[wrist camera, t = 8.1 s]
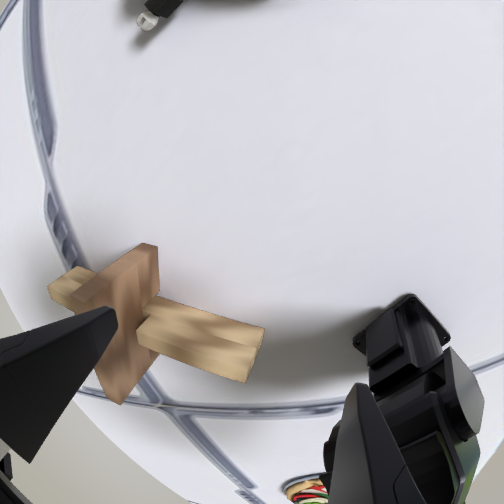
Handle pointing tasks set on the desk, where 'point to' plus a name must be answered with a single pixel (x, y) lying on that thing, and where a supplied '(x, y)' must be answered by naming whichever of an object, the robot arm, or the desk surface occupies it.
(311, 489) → the toy pizza
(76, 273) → the oak board
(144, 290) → the brown tapered flat block
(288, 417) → the desk surface
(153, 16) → the robot toy
